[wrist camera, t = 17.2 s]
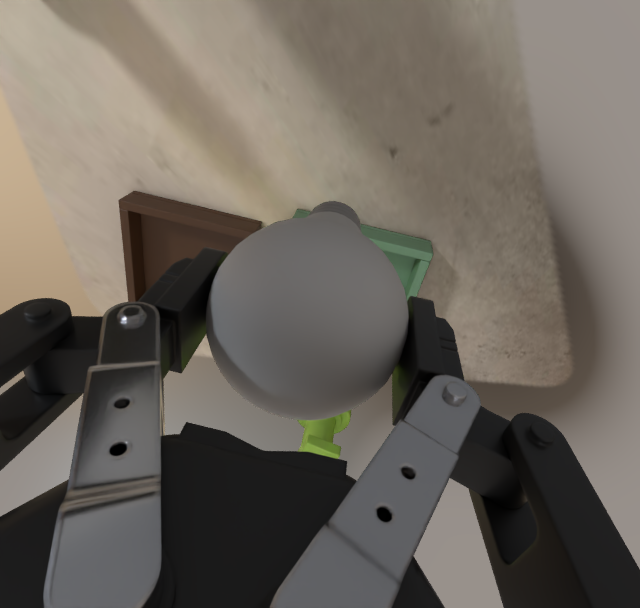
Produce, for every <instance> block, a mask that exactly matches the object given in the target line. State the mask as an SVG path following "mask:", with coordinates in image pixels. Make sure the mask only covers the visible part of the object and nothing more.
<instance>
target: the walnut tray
mask: <svg viewBox="0 0 640 608" xmlns="http://www.w3.org/2000/svg"><path fill="white" fill-rule="evenodd" d="M119 208H120V219H121V230H122V240H123V250H124V261H125V271H126V281H127V291H128V302H137V301H138V300H139V299H140V298H141V297H142V296H143V295H144V293H145V292H146V291H147V290H148V289H149V288H150V287H151V286H152V285H153V284H154V283H155V282H156V281H157V280H159V278H160V277H161V276H162V275H163V274H164V273H165V271H166V270H167V269H168V268H169V267H170V266H171V265H172V264H173V263H175V262H177V261H180V260H182V259H184V258H186V257H187V258H191V259H194V258H195V257H196V256H197V255H198V254H199V253H200V251H201V250H202V249H203V248H204V247H208V248H212V249H217V250H221V251H225V252H227V253H228V255H229V254H230V253H231V252H232V250H233V249H234V248H235V247H236V245H238V244H239V243H240V242H242V241H243V240H244V239H246V238H247V237H248V236H250V235H251V234H253V233H255V232H256V231H258V230H260V229H261V224H262V222H261V221H257V220H252V219H248V218H244V217H240V216H236V215H232V214H228V213H224V212H219V211H215V210H211V209H207V208H203V207H199V206H195V205H191V204H186V203H182V202H178V201H174V200H170V199H166V198H162V197H158V196H153V195H149V194H145V193H141V192H137V191H133V192H132V193H130V194H128V195H126V196H125V197H123V198H121V199H119Z"/></svg>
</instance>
